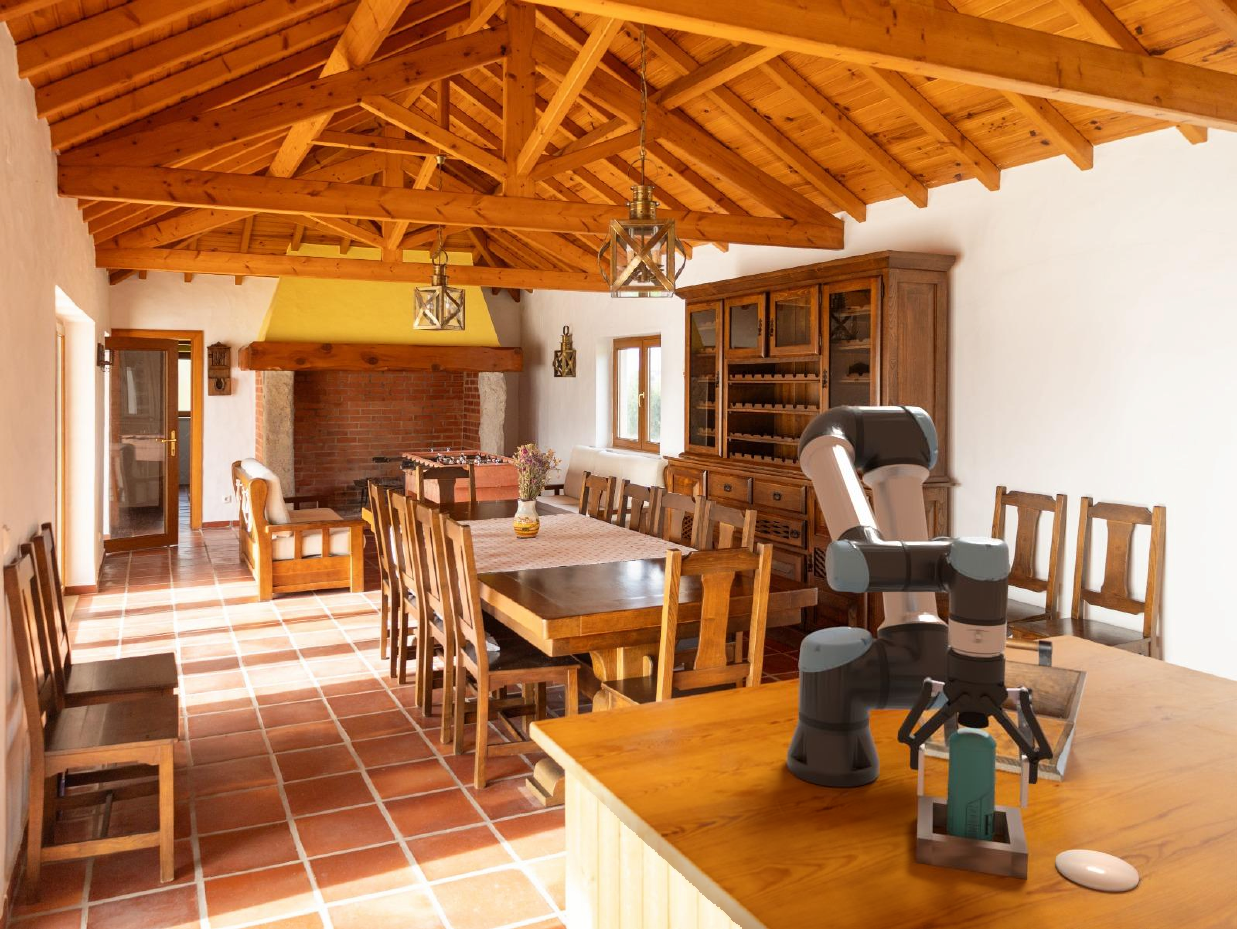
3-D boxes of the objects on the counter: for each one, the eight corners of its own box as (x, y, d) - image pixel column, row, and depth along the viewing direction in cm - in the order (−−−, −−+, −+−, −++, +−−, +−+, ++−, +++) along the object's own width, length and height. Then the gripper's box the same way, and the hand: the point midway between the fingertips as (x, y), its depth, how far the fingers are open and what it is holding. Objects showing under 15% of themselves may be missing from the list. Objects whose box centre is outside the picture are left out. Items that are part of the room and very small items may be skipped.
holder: (916, 862, 132) (916, 837, 132) (918, 817, 145) (918, 794, 145) (1027, 878, 128) (1028, 853, 128) (1018, 831, 141) (1019, 807, 141)
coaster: (1060, 883, 127) (1060, 880, 127) (1051, 848, 136) (1051, 844, 136) (1145, 896, 124) (1145, 893, 123) (1130, 859, 133) (1131, 855, 133)
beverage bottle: (988, 862, 132) (994, 720, 130) (939, 849, 136) (943, 711, 134) (998, 842, 138) (1004, 706, 136) (950, 830, 141) (955, 697, 139)
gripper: (881, 649, 134) (877, 796, 136) (1079, 665, 126) (1072, 822, 128) (884, 635, 141) (880, 775, 143) (1071, 650, 134) (1065, 798, 135)
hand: (971, 798), depth 136 cm, fingers open, 13 cm apart
